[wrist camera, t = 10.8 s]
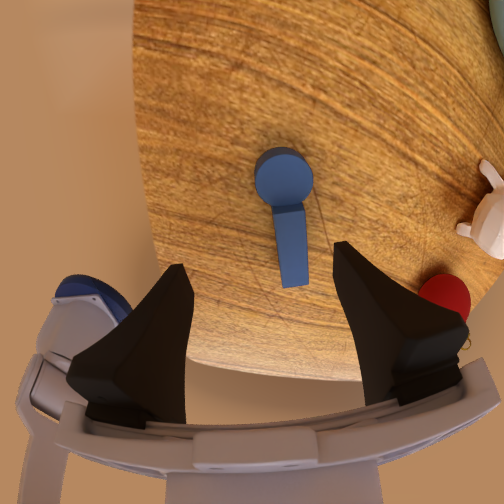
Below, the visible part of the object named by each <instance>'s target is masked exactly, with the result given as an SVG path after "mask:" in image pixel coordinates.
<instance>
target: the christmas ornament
mask: <svg viewBox="0 0 504 504" xmlns="http://www.w3.org/2000/svg"><path fill="white" fill-rule="evenodd" d="M418 296H420V297H422V298H424V299H426V300H428V301H430V302H433V303H435V304H437V305H439V306H442V307H445V308H448V309H450V310H453V311H456V312H459V313H460V315H461V316H462V318H463V320H464V321H465V323H466V320H467V317H468V315H469V312H470V307H471V299H470V294H469V291H468V288H467V287H466V285H465V284H464V282H463V281H462V280H461V279H459V278H458V277H456V276H454V275H451V274H439V275H436V276H434V277H432V278H430V279H429V280H428V281H426V282H425V283H424V285H423V286H422V287H421V289H420V291H419V293H418ZM469 336H470V333H469V335H468V338H467V339H468V340H469V342H470V346H471V341H470V339H469ZM470 346H469V348H470ZM469 348H467V349H469ZM461 349H462V350H467V349H464V348H462V347H461Z"/></svg>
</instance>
